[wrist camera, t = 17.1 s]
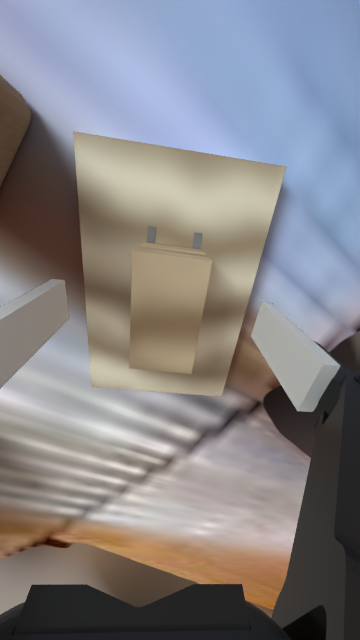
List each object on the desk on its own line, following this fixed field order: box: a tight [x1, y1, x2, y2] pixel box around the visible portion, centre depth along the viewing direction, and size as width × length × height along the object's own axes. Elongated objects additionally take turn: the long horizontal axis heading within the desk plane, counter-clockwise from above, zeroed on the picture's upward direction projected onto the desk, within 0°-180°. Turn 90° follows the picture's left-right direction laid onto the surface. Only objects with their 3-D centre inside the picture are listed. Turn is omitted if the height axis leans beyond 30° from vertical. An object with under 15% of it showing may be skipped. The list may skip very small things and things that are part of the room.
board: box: [73, 131, 286, 397], centre depth 21 cm, size 24×16×2 cm, turn 173°
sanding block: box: [129, 242, 212, 374], centre depth 18 cm, size 9×5×6 cm, turn 173°
